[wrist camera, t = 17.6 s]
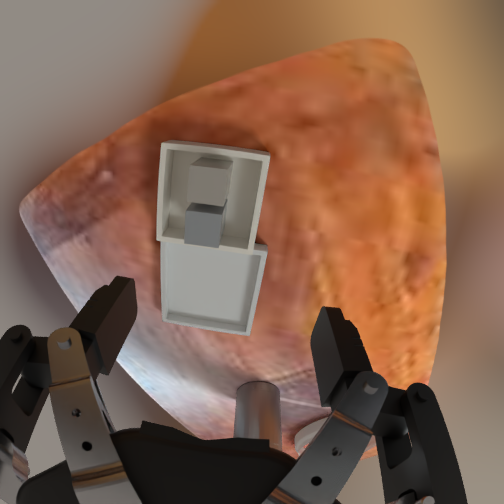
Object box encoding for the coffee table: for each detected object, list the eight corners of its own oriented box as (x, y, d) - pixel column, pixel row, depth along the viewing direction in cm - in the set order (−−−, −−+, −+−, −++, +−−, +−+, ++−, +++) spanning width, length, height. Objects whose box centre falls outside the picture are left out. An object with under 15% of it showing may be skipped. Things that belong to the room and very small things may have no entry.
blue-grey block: (227, 199, 35) (221, 214, 30) (224, 227, 37) (218, 248, 31) (197, 195, 35) (185, 210, 30) (194, 224, 37) (184, 243, 31)
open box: (253, 242, 38) (252, 255, 35) (165, 228, 38) (156, 240, 34) (269, 152, 33) (270, 156, 29) (171, 139, 32) (161, 142, 29)
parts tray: (250, 327, 45) (249, 335, 44) (165, 313, 45) (162, 321, 43) (267, 245, 38) (267, 251, 37) (165, 229, 38) (160, 235, 36)
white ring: (385, 399, 58) (390, 415, 53) (381, 434, 69) (385, 447, 64) (284, 424, 62) (285, 441, 57) (303, 454, 74) (304, 467, 69)
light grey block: (233, 161, 33) (228, 169, 27) (229, 192, 35) (223, 206, 29) (201, 157, 33) (189, 165, 27) (198, 187, 34) (186, 201, 29)
